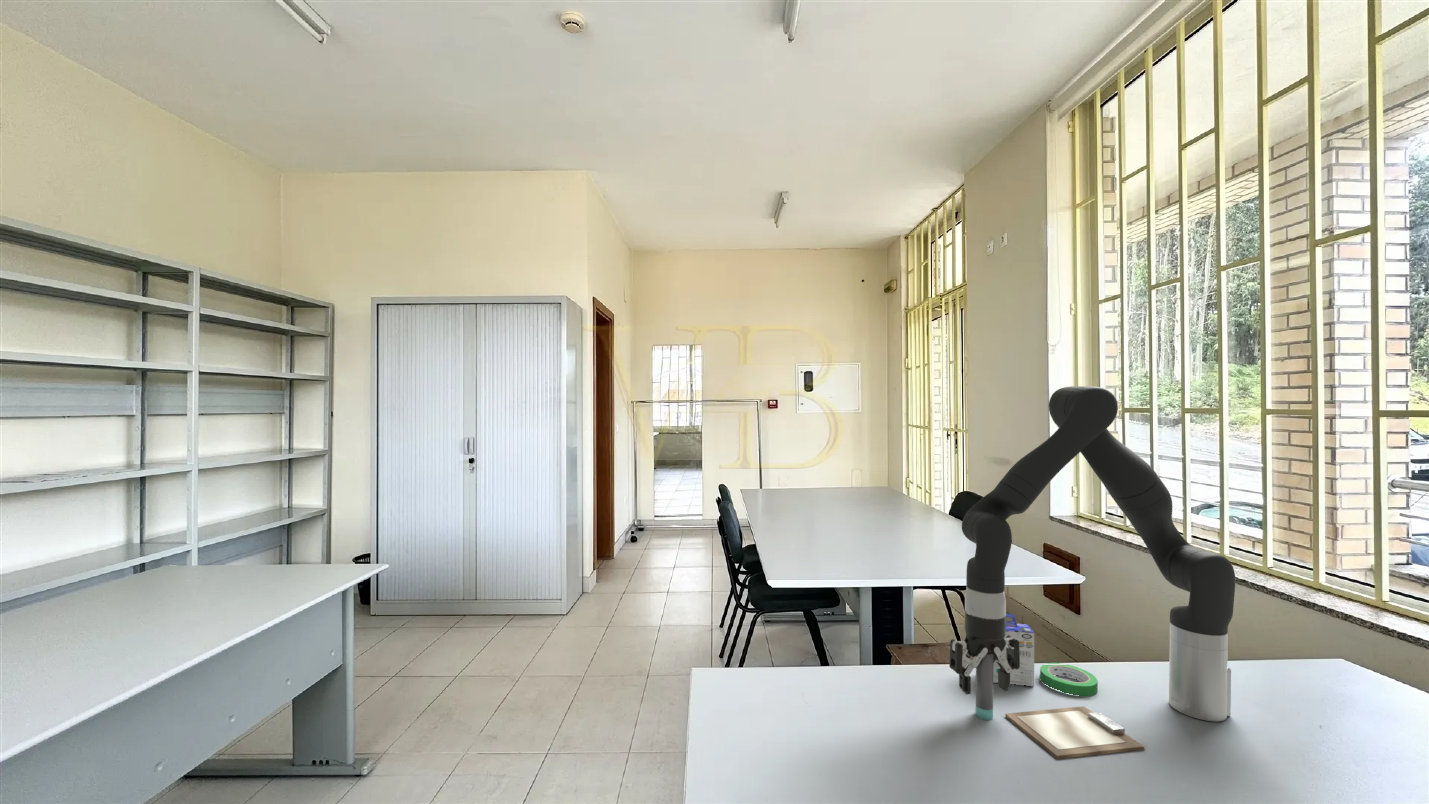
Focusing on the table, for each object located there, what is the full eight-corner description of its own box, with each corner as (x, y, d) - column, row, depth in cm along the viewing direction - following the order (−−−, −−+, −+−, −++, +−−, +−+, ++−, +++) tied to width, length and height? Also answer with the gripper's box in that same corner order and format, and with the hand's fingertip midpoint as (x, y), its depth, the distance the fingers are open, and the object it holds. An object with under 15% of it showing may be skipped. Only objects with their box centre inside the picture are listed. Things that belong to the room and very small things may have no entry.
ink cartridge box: (1027, 676, 135) (1028, 613, 134) (1036, 687, 129) (1036, 622, 129) (982, 671, 137) (982, 610, 136) (988, 683, 131) (988, 619, 131)
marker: (986, 710, 119) (986, 647, 119) (996, 719, 116) (997, 654, 116) (972, 712, 119) (972, 648, 119) (981, 720, 116) (982, 655, 116)
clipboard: (1083, 709, 120) (1083, 701, 120) (1144, 749, 106) (1144, 740, 106) (1005, 716, 117) (1005, 708, 117) (1057, 759, 103) (1057, 750, 103)
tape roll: (1093, 679, 134) (1093, 668, 134) (1101, 702, 124) (1101, 690, 124) (1038, 670, 138) (1038, 659, 138) (1042, 691, 128) (1042, 679, 128)
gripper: (1004, 602, 122) (1004, 679, 122) (942, 605, 120) (941, 684, 120) (1029, 615, 115) (1029, 697, 115) (963, 619, 113) (963, 703, 113)
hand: (984, 690), depth 118 cm, fingers open, 8 cm apart
